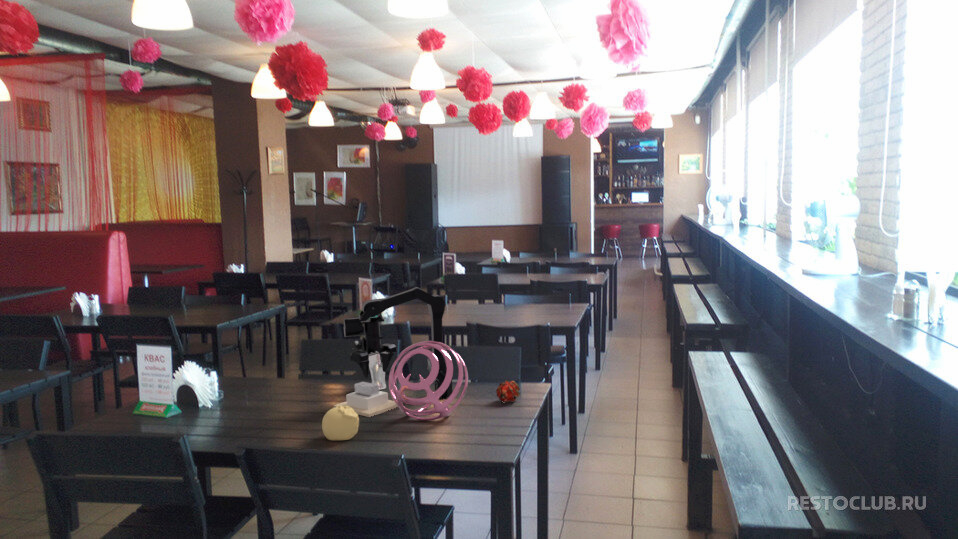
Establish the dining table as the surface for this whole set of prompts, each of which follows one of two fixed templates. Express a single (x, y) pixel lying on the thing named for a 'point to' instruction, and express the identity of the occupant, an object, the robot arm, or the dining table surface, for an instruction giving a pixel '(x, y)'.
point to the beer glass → (377, 371)
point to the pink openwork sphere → (427, 382)
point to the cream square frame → (369, 403)
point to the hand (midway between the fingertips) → (375, 374)
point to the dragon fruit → (508, 391)
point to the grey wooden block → (366, 389)
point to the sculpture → (340, 423)
